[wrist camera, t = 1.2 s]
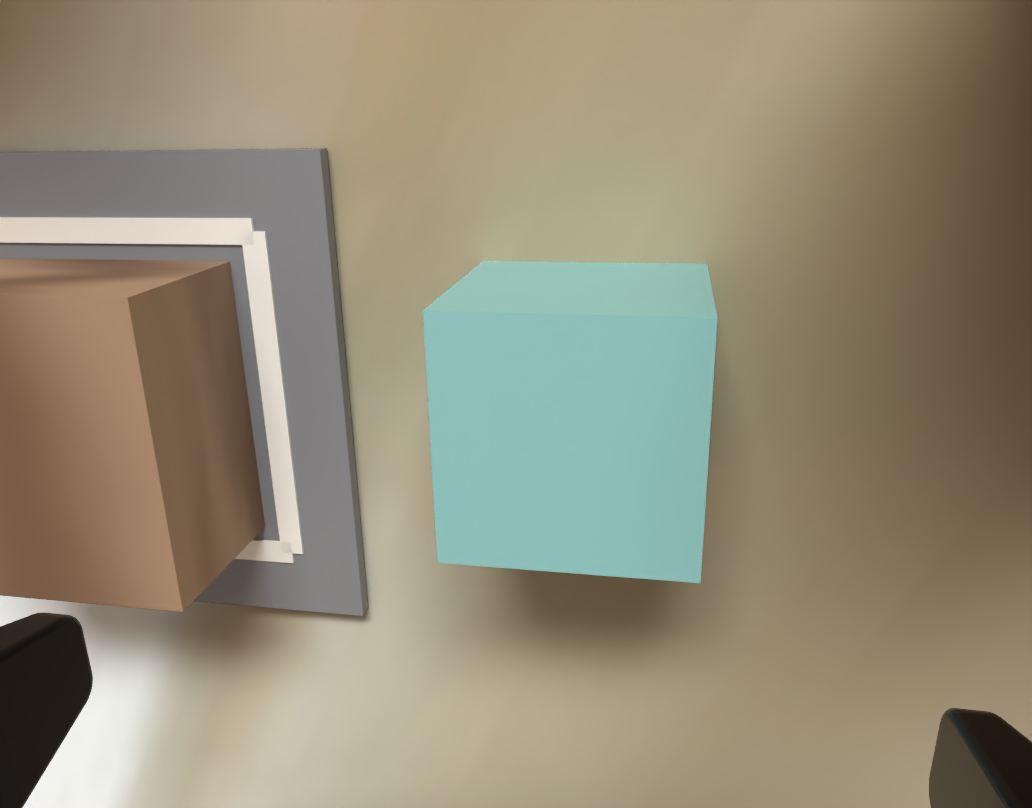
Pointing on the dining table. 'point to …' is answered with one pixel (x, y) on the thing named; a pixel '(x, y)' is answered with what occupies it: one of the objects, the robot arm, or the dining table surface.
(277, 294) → the mat
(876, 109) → the dining table surface
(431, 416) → the teal cube
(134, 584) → the walnut block
